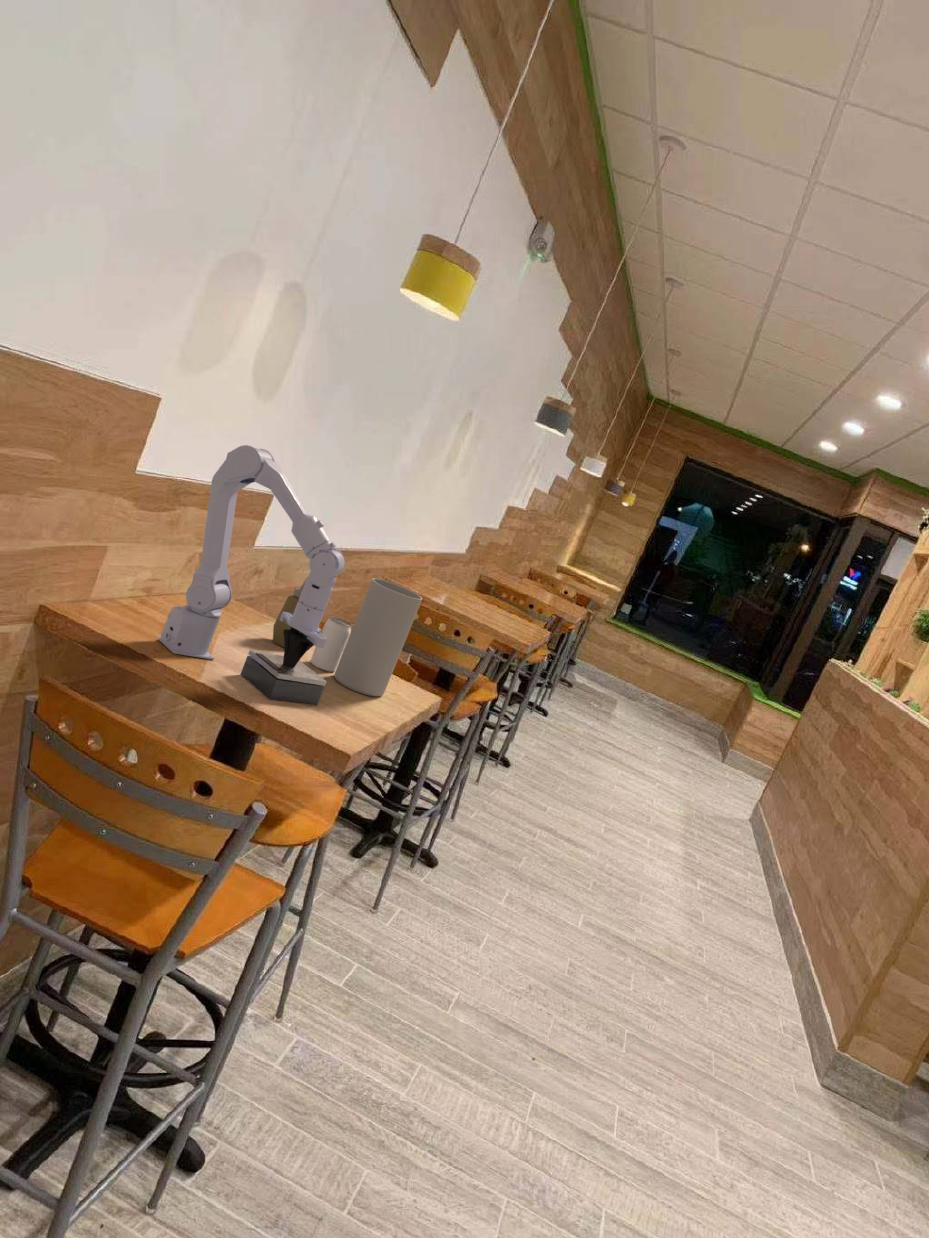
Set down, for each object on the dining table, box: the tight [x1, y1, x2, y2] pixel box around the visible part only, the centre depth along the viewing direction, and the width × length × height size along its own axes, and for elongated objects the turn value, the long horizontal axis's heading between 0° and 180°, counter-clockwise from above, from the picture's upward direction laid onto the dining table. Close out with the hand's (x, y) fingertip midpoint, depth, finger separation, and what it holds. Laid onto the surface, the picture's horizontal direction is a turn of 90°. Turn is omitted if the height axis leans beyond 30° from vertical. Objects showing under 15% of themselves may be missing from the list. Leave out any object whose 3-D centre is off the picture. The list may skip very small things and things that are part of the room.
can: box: [310, 616, 352, 673], centre depth 219 cm, size 6×6×12 cm
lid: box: [248, 649, 328, 687], centre depth 187 cm, size 12×12×1 cm
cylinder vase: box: [334, 577, 423, 697], centre depth 214 cm, size 12×12×25 cm
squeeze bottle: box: [272, 576, 308, 649], centre depth 224 cm, size 8×8×18 cm
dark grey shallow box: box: [239, 655, 325, 706], centre depth 188 cm, size 12×12×4 cm
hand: (288, 666), depth 187 cm, fingers closed, pressing on lid
